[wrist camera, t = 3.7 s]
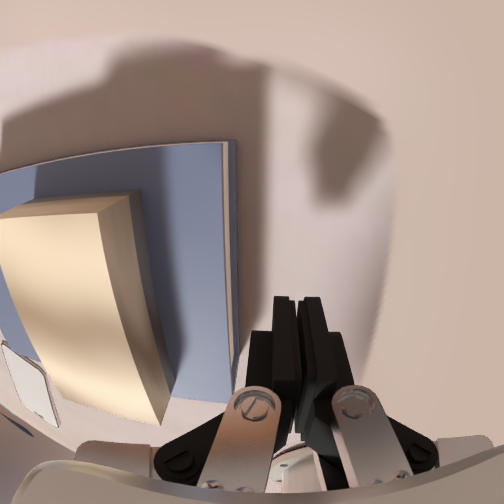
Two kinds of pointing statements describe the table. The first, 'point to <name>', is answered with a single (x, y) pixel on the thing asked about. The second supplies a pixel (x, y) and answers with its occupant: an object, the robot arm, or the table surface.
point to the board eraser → (90, 299)
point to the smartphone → (31, 386)
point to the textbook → (161, 248)
